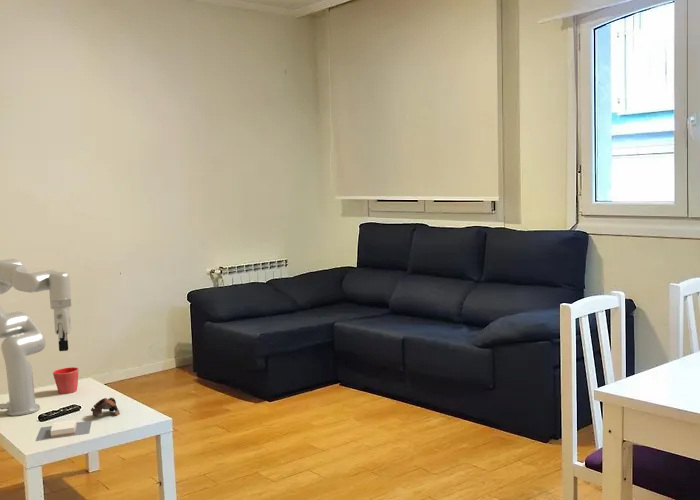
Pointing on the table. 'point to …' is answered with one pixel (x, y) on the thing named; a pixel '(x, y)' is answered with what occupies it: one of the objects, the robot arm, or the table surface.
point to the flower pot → (66, 380)
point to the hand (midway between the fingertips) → (63, 350)
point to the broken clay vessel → (105, 406)
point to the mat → (80, 430)
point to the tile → (63, 428)
